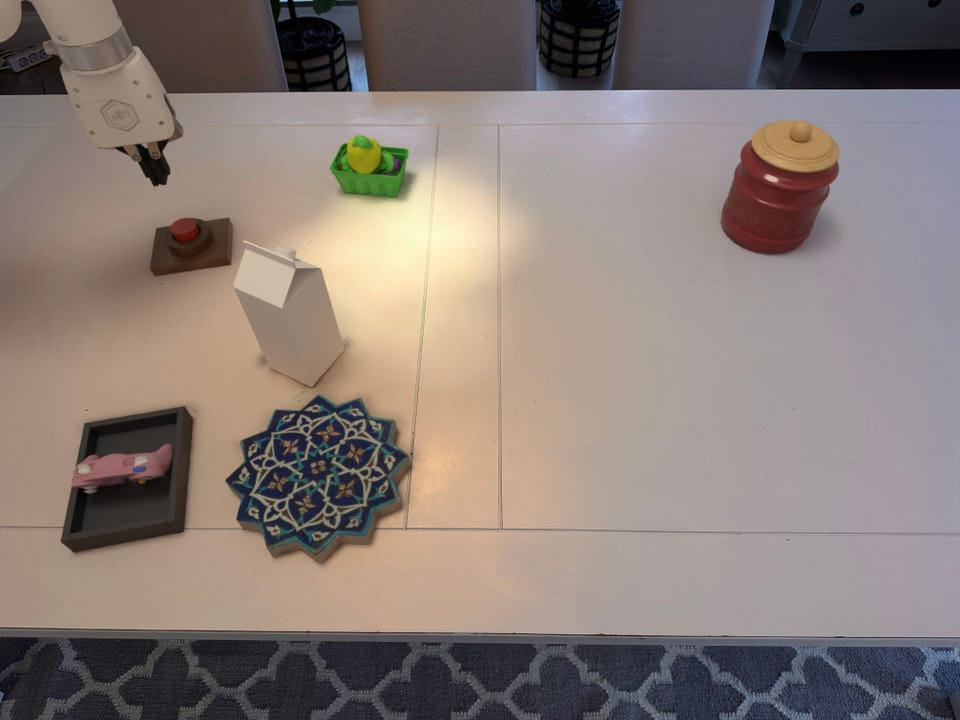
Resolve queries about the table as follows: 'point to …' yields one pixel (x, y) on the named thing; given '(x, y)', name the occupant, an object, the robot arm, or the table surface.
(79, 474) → the pink toy car
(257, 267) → the milk carton
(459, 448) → the table surface
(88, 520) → the dock
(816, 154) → the kitchen canister
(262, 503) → the decorative tile
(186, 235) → the power button
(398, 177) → the fruit basket
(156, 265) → the switch block
